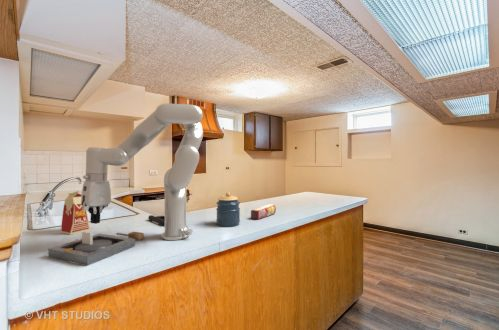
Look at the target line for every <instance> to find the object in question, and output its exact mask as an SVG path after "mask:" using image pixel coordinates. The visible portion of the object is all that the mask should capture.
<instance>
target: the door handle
mask: <svg viewBox="0 0 499 330" xmlns="http://www.w3.org/2000/svg"><path fill="white" fill-rule="evenodd" d="M147 219H148V220H149V221H151V222H152V223H154V224H157V225H158V224H160V225H161V226H164V227H165V215H157V216H155V215H152V214H151V215H148V217H147Z"/></svg>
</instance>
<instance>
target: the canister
mask: <svg viewBox="0 0 499 330" xmlns="http://www.w3.org/2000/svg"><path fill="white" fill-rule="evenodd" d="M217 200H218V201H217V202H216V208H215V209H216V225H217V226H219V227H228V228H229V227H237V226H238V225H240V223H241V220H240V218H241V217H240V216H241V214H240V213H241V211H240V210H241V208H240V203H241V202H240V201H239V198H238V196H236V195H232V194H231V193H230V191H227V192H226V193H225V195H221V196H220V197H218V198H217Z"/></svg>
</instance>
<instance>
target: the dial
mask: <svg viewBox="0 0 499 330" xmlns="http://www.w3.org/2000/svg"><path fill="white" fill-rule="evenodd" d="M81 235H82V236H81V239H82V243H81V244H79V245H77V246H76V247H75V250H76V251H82V252H87V253H91V252H93V251H96V250H99V249H102V248H104V247H107V246H110V245H112V241H110V240H93V235H94V234H93V232H91V231H84V232H81Z"/></svg>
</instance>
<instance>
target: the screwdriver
mask: <svg viewBox="0 0 499 330" xmlns="http://www.w3.org/2000/svg"><path fill="white" fill-rule="evenodd" d="M116 236H124V237H125V236H126V237H127V238H132V239H135V241H138V242H139V241H142V240H144V239H145V233H144V232H139V231H131V232H128V233H121V232H116Z"/></svg>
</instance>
